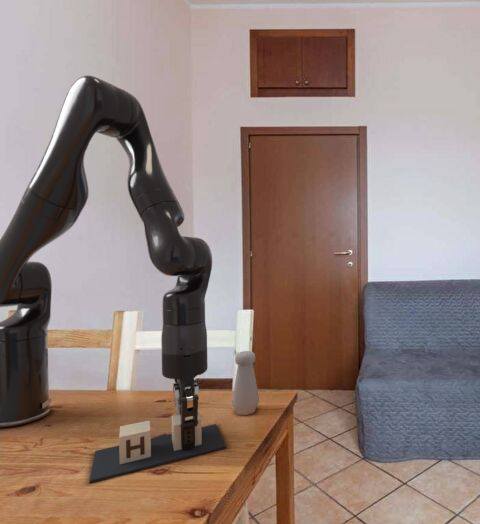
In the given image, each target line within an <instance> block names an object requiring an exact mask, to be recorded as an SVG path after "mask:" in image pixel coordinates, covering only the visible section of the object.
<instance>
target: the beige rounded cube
mask: <svg viewBox="0 0 480 524" xmlns="http://www.w3.org/2000/svg"><path fill="white" fill-rule="evenodd" d="M151 435H152V433H151V420H145V421H139V422H135V423H134V422H133V423H128V424H125V425H120V426H119V436H118V446H119V455H120V464H124V463H128V462H132V461H136V460H140V459H144V458H148V457H151V438H152V436H151Z"/></svg>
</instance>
